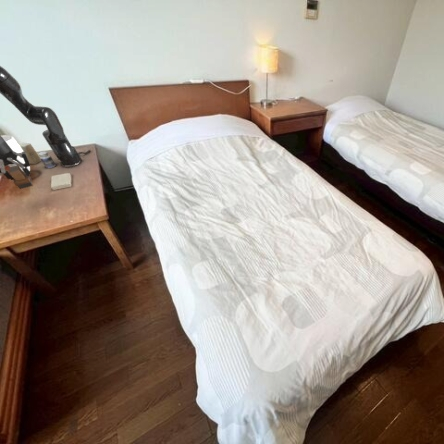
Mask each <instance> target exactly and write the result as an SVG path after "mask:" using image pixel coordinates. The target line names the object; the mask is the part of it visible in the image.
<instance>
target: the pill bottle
mask: <svg viewBox="0 0 444 444" xmlns="http://www.w3.org/2000/svg"><path fill="white" fill-rule="evenodd" d="M37 154H38V155H39V157H40V159H41V161H40V162H42V163H43V165H44V167H45V168H47V169H51V168H54V167H55V166H56V163H55V161H54V160H53V158H52V156H51V155H50V154H49V153H48V152H47V151H41V152H38V153H37Z"/></svg>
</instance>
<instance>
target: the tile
mask: <svg viewBox="0 0 444 444" xmlns="http://www.w3.org/2000/svg"><path fill="white" fill-rule="evenodd" d="M50 180H51V181H50V188H51V190H52V191H56V190H61V189H65V188H72V175H71V173H70V172H67V173H60V174H55V175H51V179H50Z"/></svg>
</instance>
